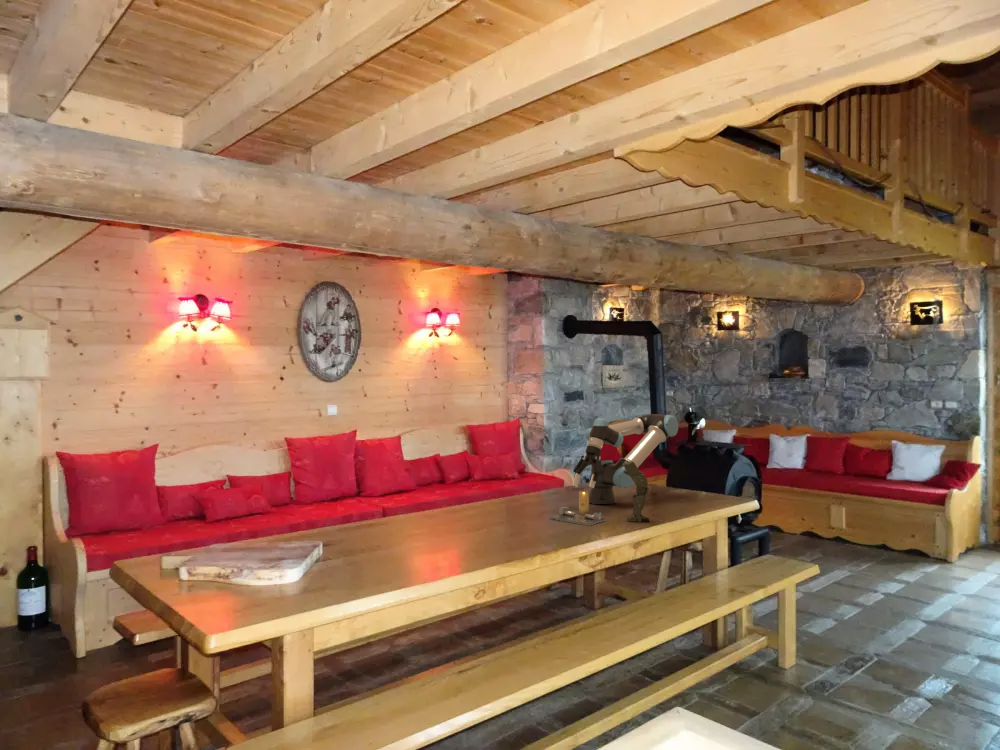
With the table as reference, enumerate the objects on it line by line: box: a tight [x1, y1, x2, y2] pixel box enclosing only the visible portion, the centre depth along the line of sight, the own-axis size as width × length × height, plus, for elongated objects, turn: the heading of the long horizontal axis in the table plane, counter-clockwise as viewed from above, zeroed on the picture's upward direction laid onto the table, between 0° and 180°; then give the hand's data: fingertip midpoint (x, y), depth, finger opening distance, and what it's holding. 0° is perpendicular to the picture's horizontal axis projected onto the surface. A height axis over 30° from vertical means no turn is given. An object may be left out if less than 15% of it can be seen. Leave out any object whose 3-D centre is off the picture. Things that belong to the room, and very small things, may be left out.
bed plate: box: [549, 506, 607, 527], centre depth 344 cm, size 23×14×5 cm, turn 50°
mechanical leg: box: [623, 461, 651, 523], centre depth 343 cm, size 14×7×30 cm, turn 84°
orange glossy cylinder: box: [578, 490, 590, 515], centre depth 360 cm, size 5×5×11 cm
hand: (582, 486), depth 361 cm, fingers open, 13 cm apart
